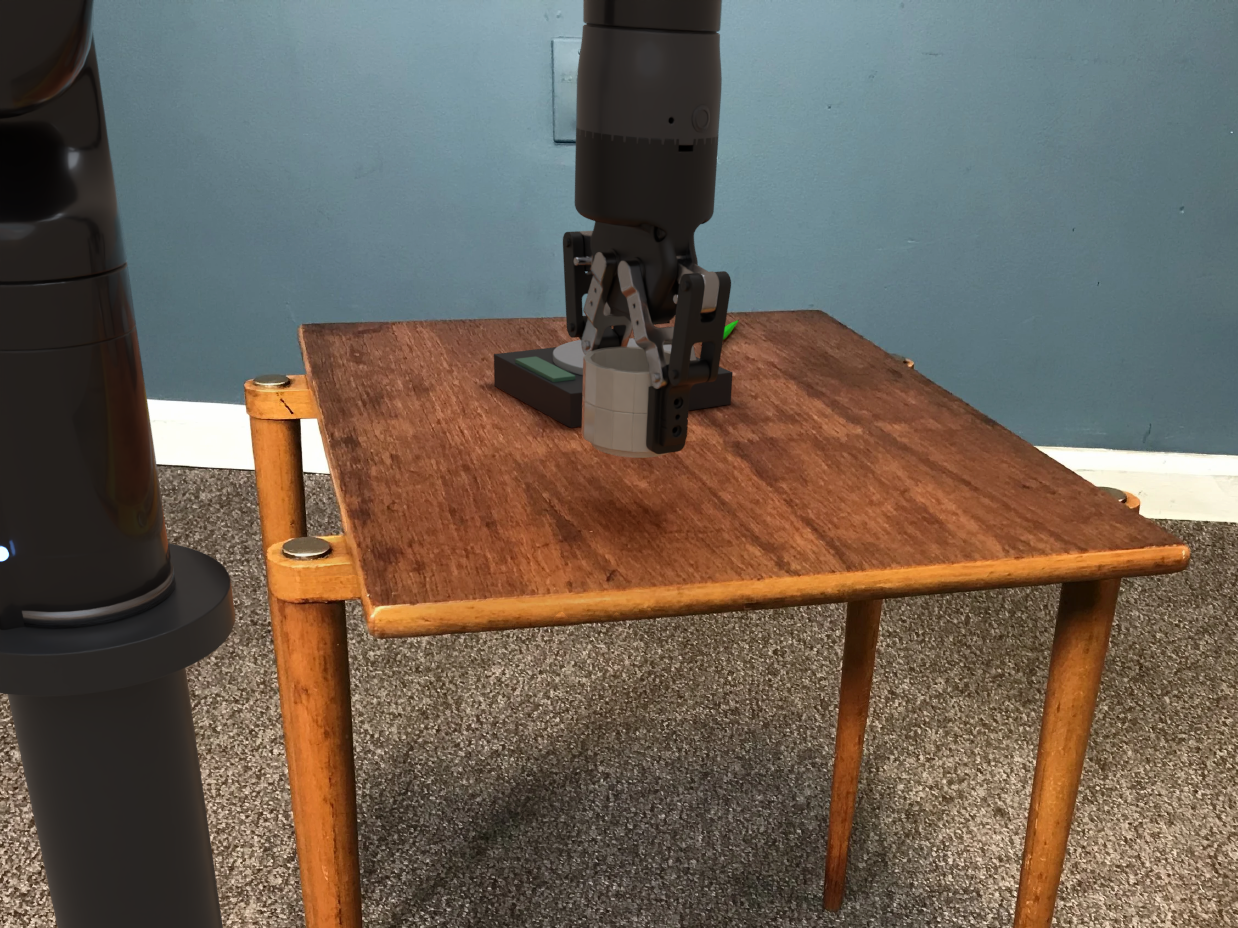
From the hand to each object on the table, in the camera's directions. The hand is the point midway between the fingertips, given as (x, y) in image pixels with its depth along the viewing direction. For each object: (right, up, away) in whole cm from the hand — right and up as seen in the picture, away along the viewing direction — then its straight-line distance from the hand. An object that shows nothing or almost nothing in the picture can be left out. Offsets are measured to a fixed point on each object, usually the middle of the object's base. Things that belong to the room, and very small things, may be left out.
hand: (634, 433), depth 79 cm
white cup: (0, -1, 0) cm, 1 cm away
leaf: (+6, +16, +42) cm, 46 cm away
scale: (-3, +8, +25) cm, 27 cm away
